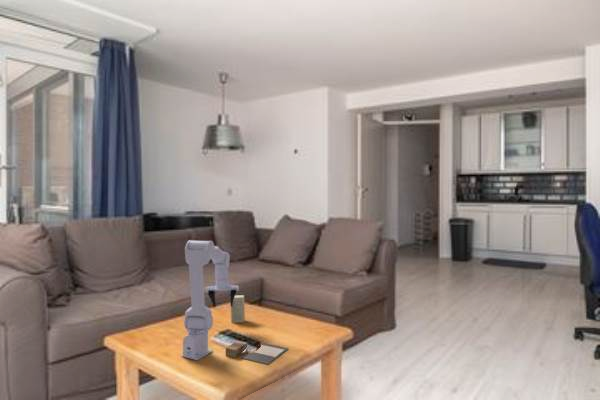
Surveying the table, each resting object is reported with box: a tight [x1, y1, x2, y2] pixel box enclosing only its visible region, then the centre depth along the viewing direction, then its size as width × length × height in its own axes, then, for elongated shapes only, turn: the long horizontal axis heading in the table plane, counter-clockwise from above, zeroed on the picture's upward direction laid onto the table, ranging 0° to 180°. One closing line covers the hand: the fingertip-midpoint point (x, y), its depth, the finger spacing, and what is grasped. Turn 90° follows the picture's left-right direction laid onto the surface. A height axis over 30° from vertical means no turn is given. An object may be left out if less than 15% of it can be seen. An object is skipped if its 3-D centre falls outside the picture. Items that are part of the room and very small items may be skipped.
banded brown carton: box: [225, 340, 248, 359], centre depth 159 cm, size 8×4×4 cm, turn 153°
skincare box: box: [230, 294, 246, 324], centre depth 196 cm, size 6×4×12 cm
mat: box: [240, 342, 289, 366], centre depth 159 cm, size 16×12×1 cm
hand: (223, 306), depth 186 cm, fingers open, 7 cm apart
